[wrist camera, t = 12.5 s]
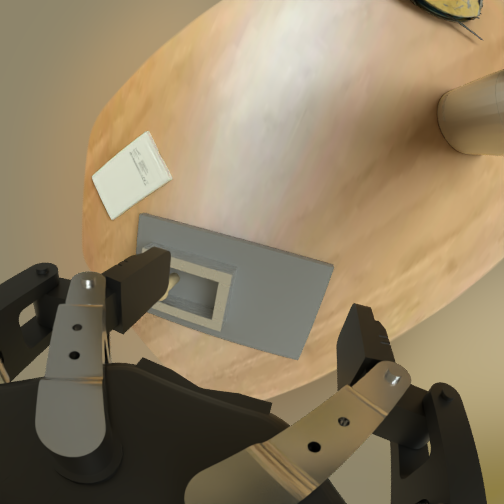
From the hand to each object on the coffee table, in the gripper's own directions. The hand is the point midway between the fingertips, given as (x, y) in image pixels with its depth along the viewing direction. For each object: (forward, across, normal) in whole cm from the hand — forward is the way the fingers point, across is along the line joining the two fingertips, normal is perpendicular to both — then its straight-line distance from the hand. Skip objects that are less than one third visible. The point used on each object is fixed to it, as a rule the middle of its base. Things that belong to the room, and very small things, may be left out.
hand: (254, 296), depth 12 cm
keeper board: (+25, +7, +14) cm, 30 cm away
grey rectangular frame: (+24, +12, +14) cm, 30 cm away
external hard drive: (+26, +24, +1) cm, 36 cm away
